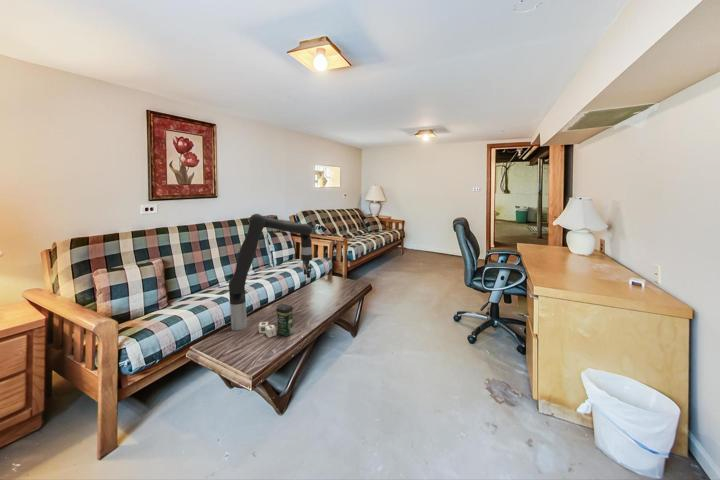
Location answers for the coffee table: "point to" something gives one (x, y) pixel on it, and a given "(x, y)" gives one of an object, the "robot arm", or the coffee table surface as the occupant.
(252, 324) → the coffee table surface
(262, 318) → the coffee table surface
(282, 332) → the coffee jar
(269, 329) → the marked block
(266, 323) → the marked block
